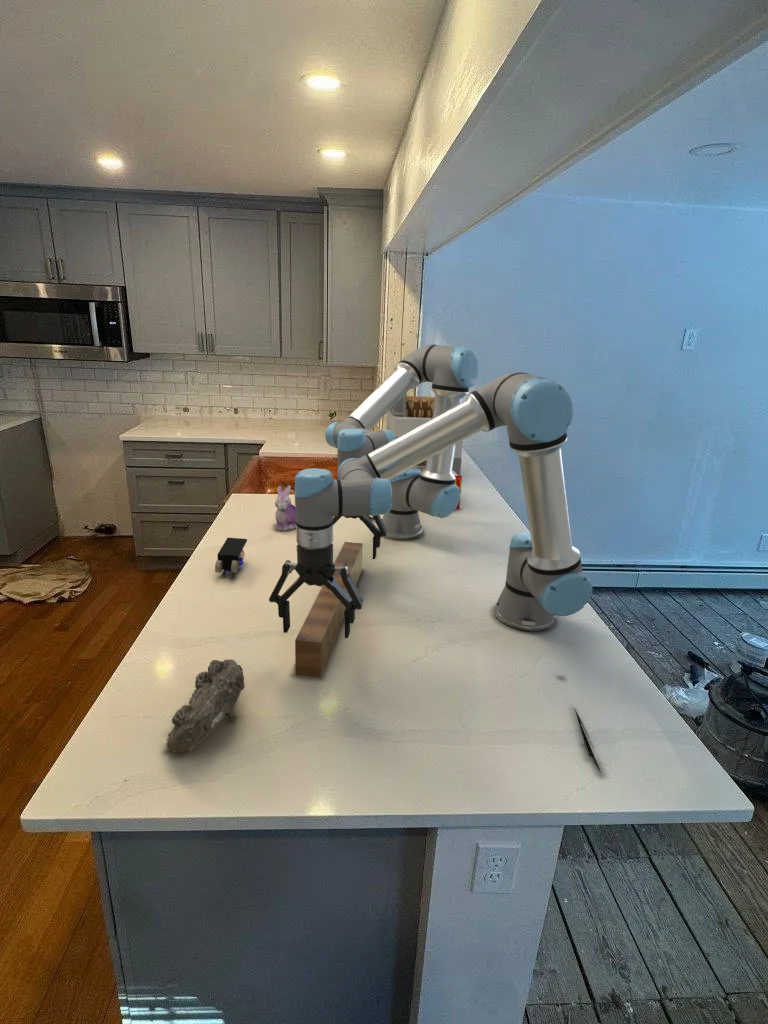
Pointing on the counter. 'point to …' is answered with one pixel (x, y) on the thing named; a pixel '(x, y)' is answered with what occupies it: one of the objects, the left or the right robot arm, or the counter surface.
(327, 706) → the counter surface
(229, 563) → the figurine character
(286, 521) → the figurine
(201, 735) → the fossil
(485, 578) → the counter surface
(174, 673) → the counter surface
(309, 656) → the bar
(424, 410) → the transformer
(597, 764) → the feather
